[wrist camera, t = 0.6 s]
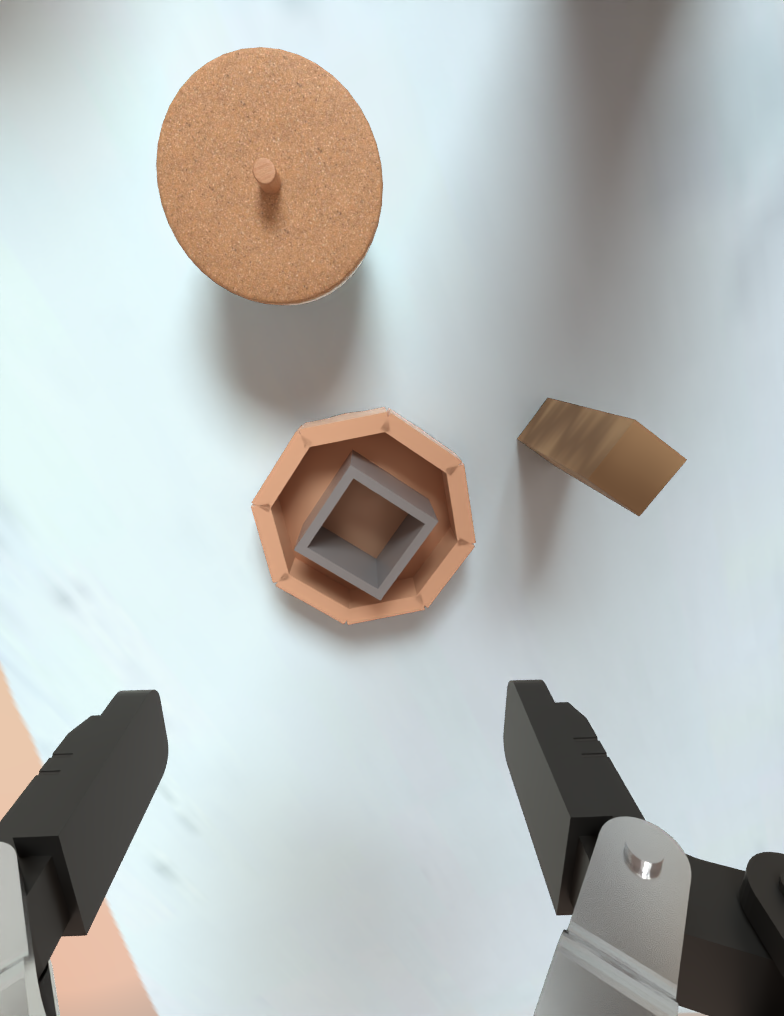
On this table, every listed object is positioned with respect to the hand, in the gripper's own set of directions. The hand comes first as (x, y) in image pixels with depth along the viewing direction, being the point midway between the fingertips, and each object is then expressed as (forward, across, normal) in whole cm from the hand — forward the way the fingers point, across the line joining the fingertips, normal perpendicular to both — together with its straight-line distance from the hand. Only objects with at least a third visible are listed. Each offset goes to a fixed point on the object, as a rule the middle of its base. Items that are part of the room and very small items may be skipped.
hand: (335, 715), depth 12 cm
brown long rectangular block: (+26, -14, -2) cm, 29 cm away
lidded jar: (+26, +4, -15) cm, 31 cm away
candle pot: (+26, 0, +3) cm, 26 cm away
